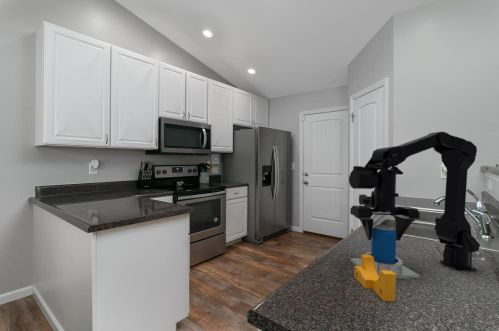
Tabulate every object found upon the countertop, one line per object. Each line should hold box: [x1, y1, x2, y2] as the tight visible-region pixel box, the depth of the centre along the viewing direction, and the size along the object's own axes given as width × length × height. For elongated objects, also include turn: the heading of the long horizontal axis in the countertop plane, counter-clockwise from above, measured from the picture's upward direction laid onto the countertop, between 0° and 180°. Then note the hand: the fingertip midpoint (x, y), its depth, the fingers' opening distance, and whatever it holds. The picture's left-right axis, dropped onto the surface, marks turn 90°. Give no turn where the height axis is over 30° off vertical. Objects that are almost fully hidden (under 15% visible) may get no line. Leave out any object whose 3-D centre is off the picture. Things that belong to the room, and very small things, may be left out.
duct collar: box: [350, 251, 421, 279], centre depth 73 cm, size 14×12×3 cm
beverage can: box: [370, 224, 397, 264], centre depth 73 cm, size 6×6×12 cm
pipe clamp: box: [353, 254, 397, 302], centre depth 62 cm, size 12×4×6 cm, turn 179°
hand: (383, 240), depth 73 cm, fingers open, 9 cm apart
